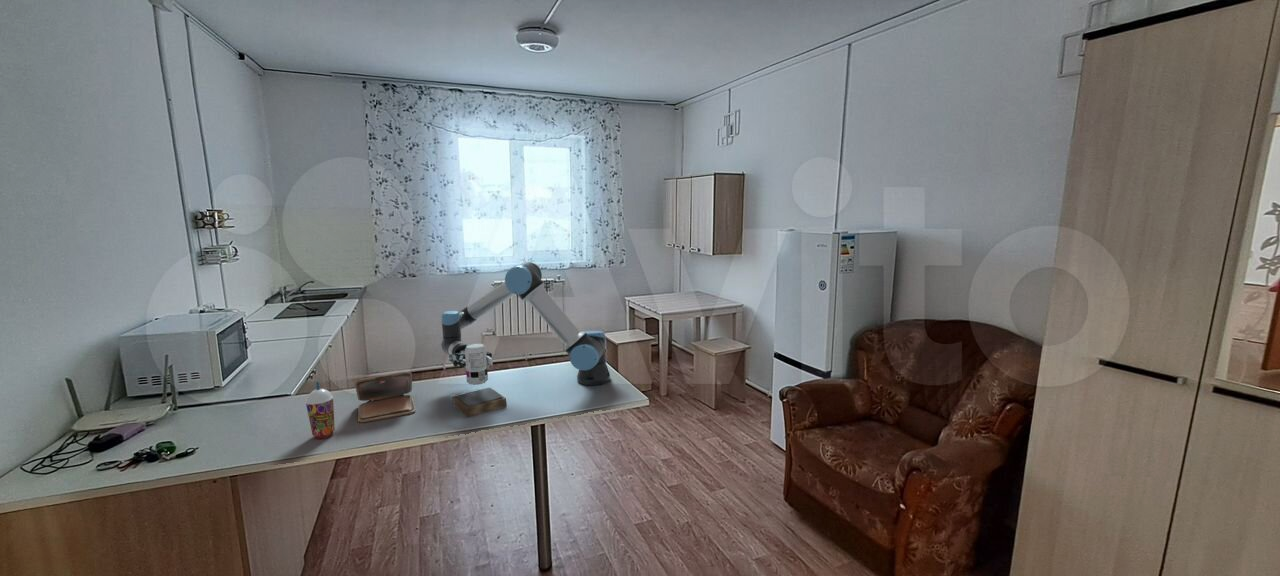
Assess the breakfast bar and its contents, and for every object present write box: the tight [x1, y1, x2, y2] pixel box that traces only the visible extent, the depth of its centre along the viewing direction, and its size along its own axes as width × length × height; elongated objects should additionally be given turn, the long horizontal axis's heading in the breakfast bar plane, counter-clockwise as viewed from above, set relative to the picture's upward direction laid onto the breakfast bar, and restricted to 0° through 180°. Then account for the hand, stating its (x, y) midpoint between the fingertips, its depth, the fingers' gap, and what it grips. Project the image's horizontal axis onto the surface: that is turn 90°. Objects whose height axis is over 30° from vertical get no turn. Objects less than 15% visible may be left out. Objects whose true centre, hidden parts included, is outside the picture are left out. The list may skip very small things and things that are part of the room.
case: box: [354, 370, 417, 424], centre depth 201 cm, size 20×21×16 cm
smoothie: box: [305, 381, 336, 440], centre depth 178 cm, size 8×8×20 cm
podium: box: [452, 387, 508, 418], centre depth 205 cm, size 16×16×4 cm
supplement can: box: [465, 342, 489, 386], centre depth 202 cm, size 8×8×15 cm
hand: (480, 364), depth 198 cm, fingers closed on supplement can, 8 cm apart
